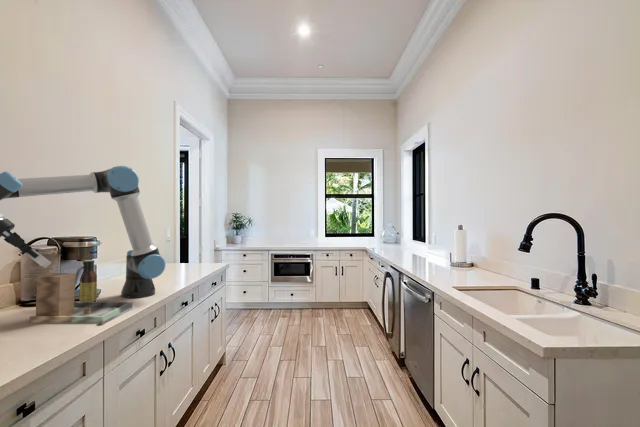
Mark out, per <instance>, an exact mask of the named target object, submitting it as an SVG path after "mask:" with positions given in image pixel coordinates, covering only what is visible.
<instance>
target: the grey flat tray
mask: <svg viewBox="0 0 640 427" xmlns="http://www.w3.org/2000/svg"><path fill="white" fill-rule="evenodd" d="M115 309H119V314H117V315H115V316H113V317H112V318H110V319H108V320H106V321H104V316H102V315H104V314H106V313H108V312H111V311H113V310H115ZM131 310H133V302H132V301H96V302H79V301H74V314H73V315H71V316H36V315H31V316H29V323H32V324H33V323H37V324H38V323H42V324H43V323H45V324H46V323H50V324H51V323H52V324H54V323H67V324H69V323H70V324H71V323H73V324H75V323H77V324H78V323H80V324H81V323H83V324H85V323H87V324H89V323H91V324H95V323H96V326H103V325H105V324H107V323H109V322H111V321H112V320H115V319H117V318H119V317H120V316H122V315H124V314H126V313H128V312H130V311H131Z"/></svg>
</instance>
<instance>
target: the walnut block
mask: <svg viewBox="0 0 640 427" xmlns="http://www.w3.org/2000/svg"><path fill="white" fill-rule="evenodd" d="M75 295H76V272H75V273H74V272H73V273H69V272H64V273H62V272H53V273H49V274H44V275H39V276H37V279H36V296H35V297H36V299H35V301H36V303H35V316H71V315H73V314H74V302H76V299H75V298H76V296H75Z"/></svg>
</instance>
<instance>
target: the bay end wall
mask: <svg viewBox="0 0 640 427" xmlns="http://www.w3.org/2000/svg"><path fill="white" fill-rule="evenodd" d="M117 314H119V309H115V310H113V311H111V312H108V313H106V314H104V315H102V316H104V321H106V320H108V319H110V318H112V317H113V316H115V315H117Z"/></svg>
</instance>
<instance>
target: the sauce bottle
mask: <svg viewBox="0 0 640 427" xmlns="http://www.w3.org/2000/svg"><path fill="white" fill-rule="evenodd" d="M82 262H83V263H82V264H83V270H82V274H81V275H80V278H79V301H78V302H97V300H98V298H97V297H98V296H97V295H98V293H97V292H98V290H97V289H98V279H97V278H98V275H97V272H96V271H95V268H94V267H95V259H86V260H82Z"/></svg>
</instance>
